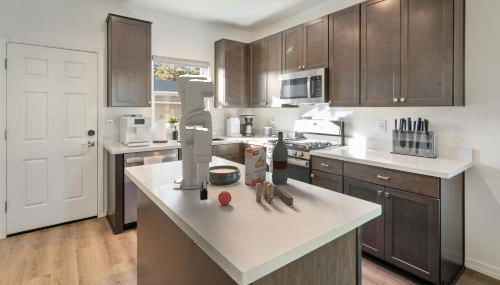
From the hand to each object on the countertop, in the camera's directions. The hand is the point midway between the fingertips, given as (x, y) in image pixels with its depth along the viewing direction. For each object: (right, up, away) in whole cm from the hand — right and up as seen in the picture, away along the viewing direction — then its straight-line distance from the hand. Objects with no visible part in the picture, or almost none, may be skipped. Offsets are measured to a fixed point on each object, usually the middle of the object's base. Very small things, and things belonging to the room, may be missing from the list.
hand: (203, 199), depth 125 cm
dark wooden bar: (+36, -2, +11) cm, 38 cm away
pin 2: (+29, -3, +6) cm, 30 cm away
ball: (+9, 0, +3) cm, 9 cm away
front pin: (+24, -3, +7) cm, 26 cm away
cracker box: (+24, +1, +41) cm, 48 cm away
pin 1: (+28, -2, +11) cm, 30 cm away
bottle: (+38, +1, +40) cm, 55 cm away
